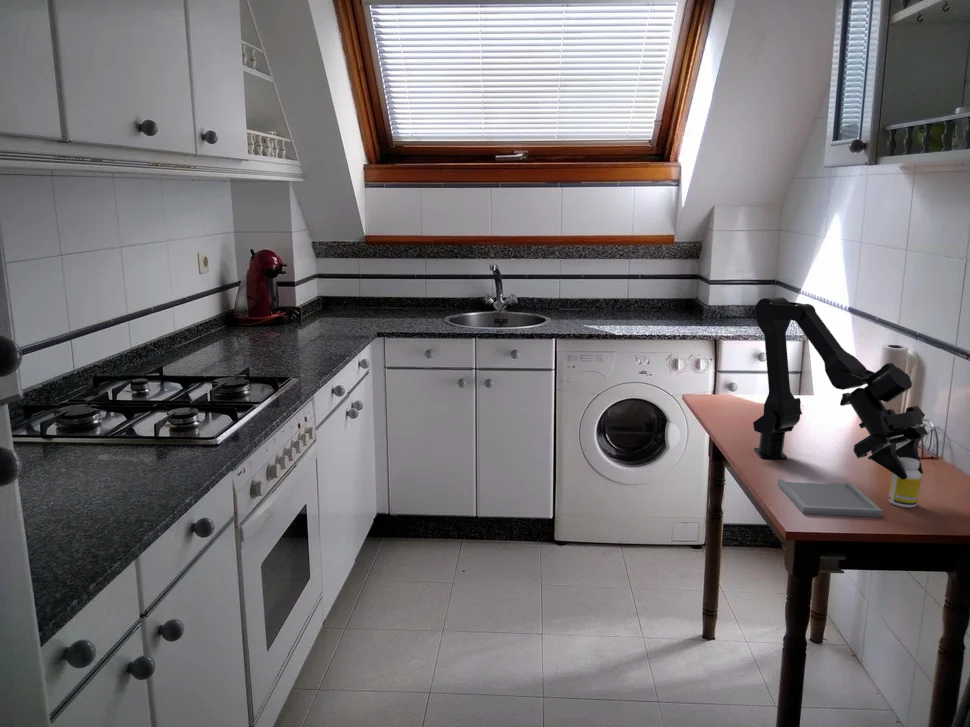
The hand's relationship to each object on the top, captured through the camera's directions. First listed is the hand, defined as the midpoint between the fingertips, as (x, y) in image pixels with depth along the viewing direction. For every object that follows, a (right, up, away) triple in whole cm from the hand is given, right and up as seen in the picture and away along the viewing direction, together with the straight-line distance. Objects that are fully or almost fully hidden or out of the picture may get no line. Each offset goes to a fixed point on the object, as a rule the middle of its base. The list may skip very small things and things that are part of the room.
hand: (913, 476), depth 168 cm
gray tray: (-17, -6, +3) cm, 18 cm away
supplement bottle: (-1, -6, +3) cm, 7 cm away
